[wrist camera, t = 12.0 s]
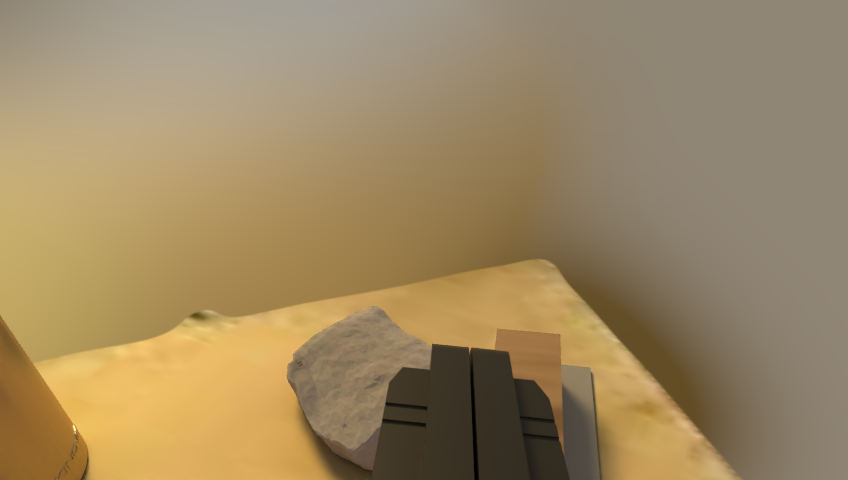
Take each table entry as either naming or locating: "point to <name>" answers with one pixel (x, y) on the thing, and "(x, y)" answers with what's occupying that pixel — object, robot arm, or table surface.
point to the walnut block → (536, 364)
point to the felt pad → (579, 424)
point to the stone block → (353, 379)
